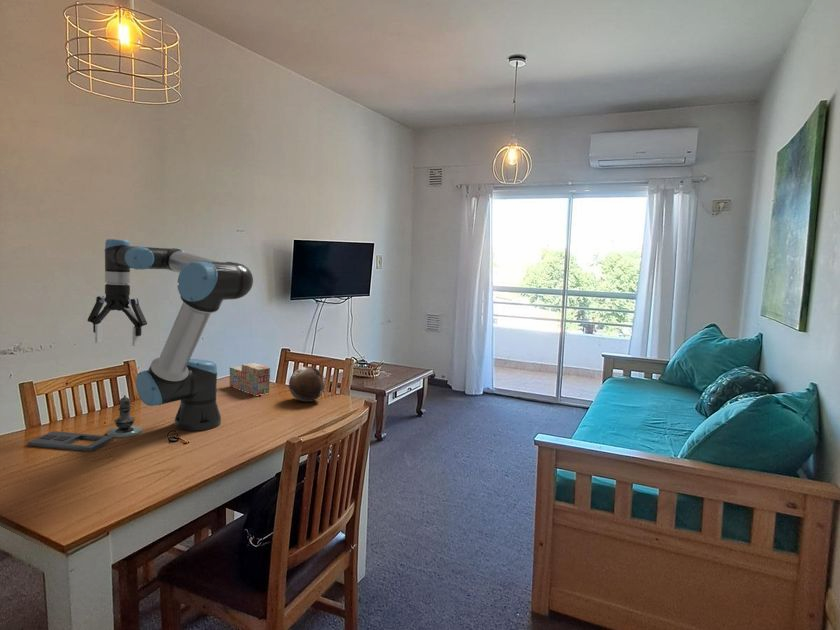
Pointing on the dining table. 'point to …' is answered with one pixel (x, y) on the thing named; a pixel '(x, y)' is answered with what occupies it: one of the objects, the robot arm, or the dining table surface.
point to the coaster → (114, 434)
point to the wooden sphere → (307, 383)
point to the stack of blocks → (250, 378)
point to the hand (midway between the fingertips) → (117, 343)
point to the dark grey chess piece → (124, 417)
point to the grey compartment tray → (69, 441)
